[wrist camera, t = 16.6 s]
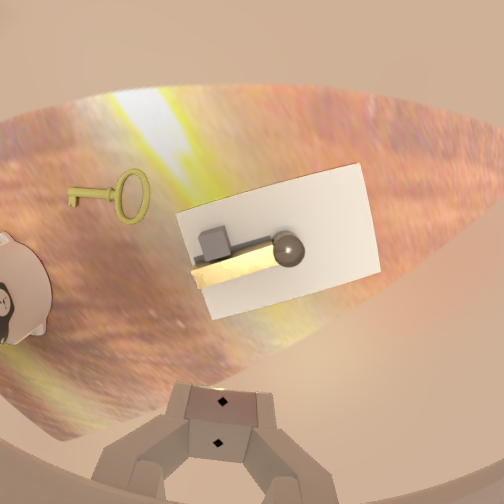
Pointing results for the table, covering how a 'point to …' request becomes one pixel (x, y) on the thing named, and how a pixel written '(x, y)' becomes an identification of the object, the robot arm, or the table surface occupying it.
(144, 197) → the key
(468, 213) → the table surface
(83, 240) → the table surface
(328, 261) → the lock plate
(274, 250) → the swing arm
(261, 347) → the table surface
